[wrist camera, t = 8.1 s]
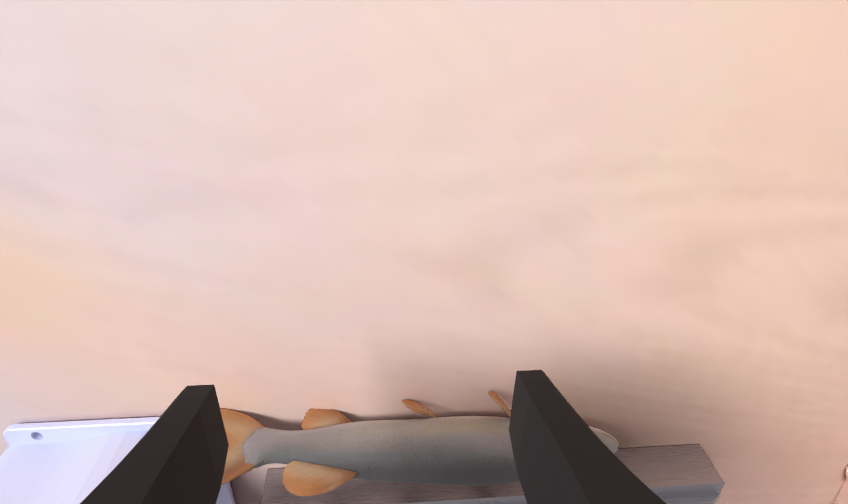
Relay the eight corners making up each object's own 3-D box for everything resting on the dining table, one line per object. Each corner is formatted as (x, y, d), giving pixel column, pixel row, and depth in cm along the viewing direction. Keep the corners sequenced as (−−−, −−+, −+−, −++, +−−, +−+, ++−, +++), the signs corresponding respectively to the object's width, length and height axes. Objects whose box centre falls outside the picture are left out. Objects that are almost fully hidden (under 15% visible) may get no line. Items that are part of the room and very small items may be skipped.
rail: (274, 504, 30) (265, 557, 27) (267, 468, 28) (256, 522, 26) (685, 478, 32) (713, 526, 29) (699, 444, 30) (730, 491, 27)
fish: (590, 438, 29) (628, 523, 25) (196, 437, 27) (162, 531, 23) (612, 378, 27) (657, 460, 23) (185, 371, 25) (145, 461, 20)
